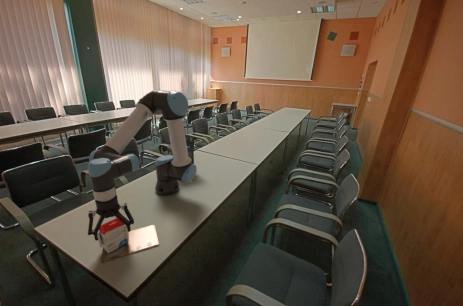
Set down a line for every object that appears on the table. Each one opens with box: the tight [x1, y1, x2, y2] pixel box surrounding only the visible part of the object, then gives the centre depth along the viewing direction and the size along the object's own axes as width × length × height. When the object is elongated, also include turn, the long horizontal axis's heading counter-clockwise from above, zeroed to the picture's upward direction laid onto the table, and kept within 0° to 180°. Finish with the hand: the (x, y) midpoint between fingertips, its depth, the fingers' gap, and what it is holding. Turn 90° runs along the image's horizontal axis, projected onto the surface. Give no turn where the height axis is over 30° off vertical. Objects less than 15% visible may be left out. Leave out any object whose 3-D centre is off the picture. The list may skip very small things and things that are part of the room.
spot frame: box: [101, 242, 130, 264], centre depth 90 cm, size 10×14×1 cm
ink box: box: [99, 215, 128, 254], centre depth 87 cm, size 8×5×15 cm, turn 141°
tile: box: [128, 224, 160, 255], centre depth 95 cm, size 12×14×1 cm
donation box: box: [166, 134, 195, 165], centre depth 159 cm, size 16×16×28 cm
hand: (115, 241), depth 89 cm, fingers closed on ink box, 9 cm apart
